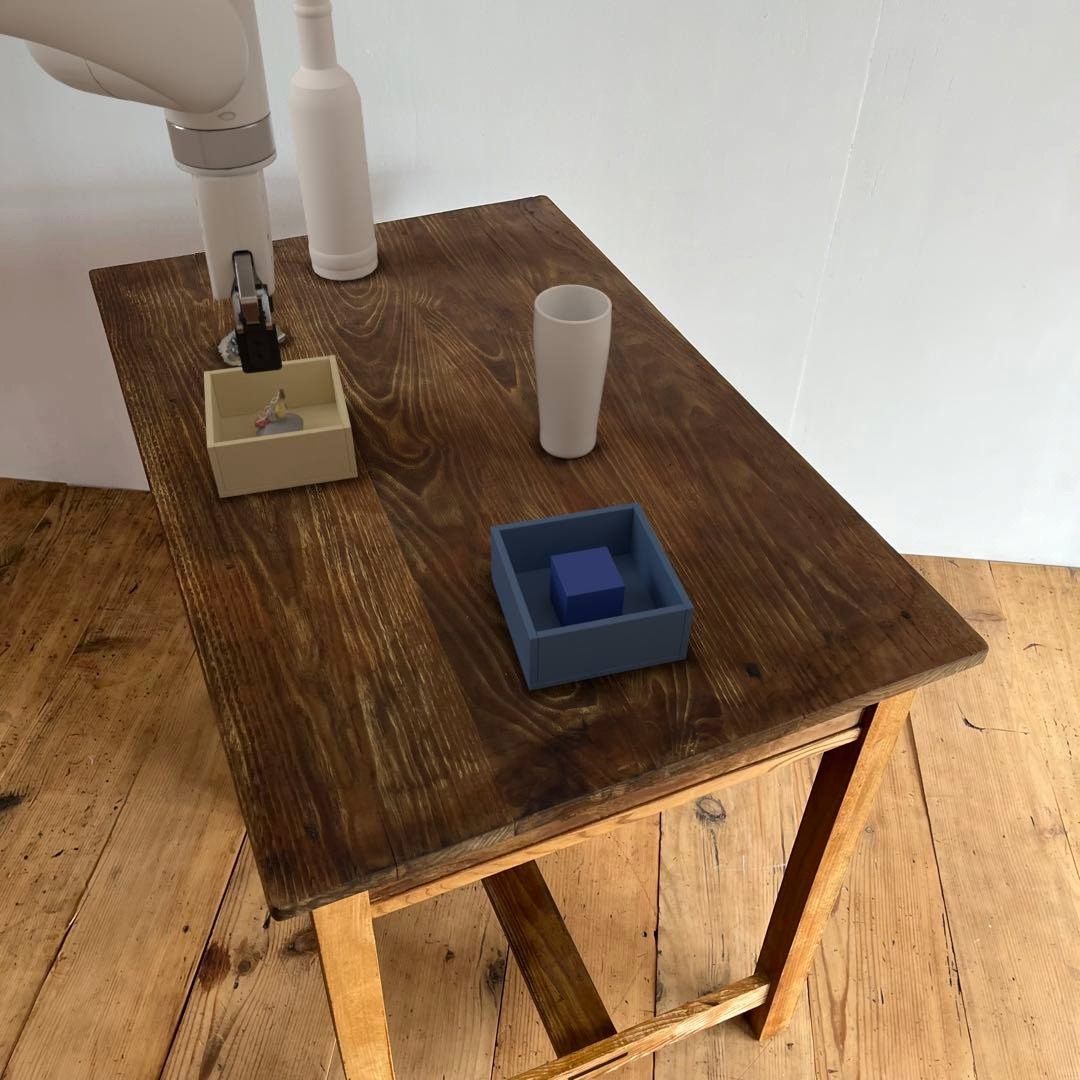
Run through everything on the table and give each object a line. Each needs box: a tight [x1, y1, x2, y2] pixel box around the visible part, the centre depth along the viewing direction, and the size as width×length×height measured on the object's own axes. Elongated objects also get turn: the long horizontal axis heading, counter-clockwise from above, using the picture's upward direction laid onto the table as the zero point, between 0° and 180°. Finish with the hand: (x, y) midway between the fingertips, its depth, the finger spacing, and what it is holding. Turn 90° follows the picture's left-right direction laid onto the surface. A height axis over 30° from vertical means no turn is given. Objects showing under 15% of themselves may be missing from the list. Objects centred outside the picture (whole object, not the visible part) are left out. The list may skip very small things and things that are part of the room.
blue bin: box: [489, 501, 695, 691], centre depth 78 cm, size 12×12×6 cm
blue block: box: [550, 547, 625, 627], centre depth 78 cm, size 4×4×4 cm
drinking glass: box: [532, 284, 613, 460], centre depth 91 cm, size 7×7×15 cm
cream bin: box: [203, 354, 359, 499], centre depth 93 cm, size 12×12×6 cm
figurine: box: [254, 389, 304, 437], centre depth 93 cm, size 5×4×6 cm
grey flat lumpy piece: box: [217, 324, 287, 367], centre depth 108 cm, size 7×8×2 cm
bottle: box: [287, 0, 379, 282], centre depth 112 cm, size 8×8×30 cm
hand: (259, 340), depth 87 cm, fingers open, 9 cm apart
